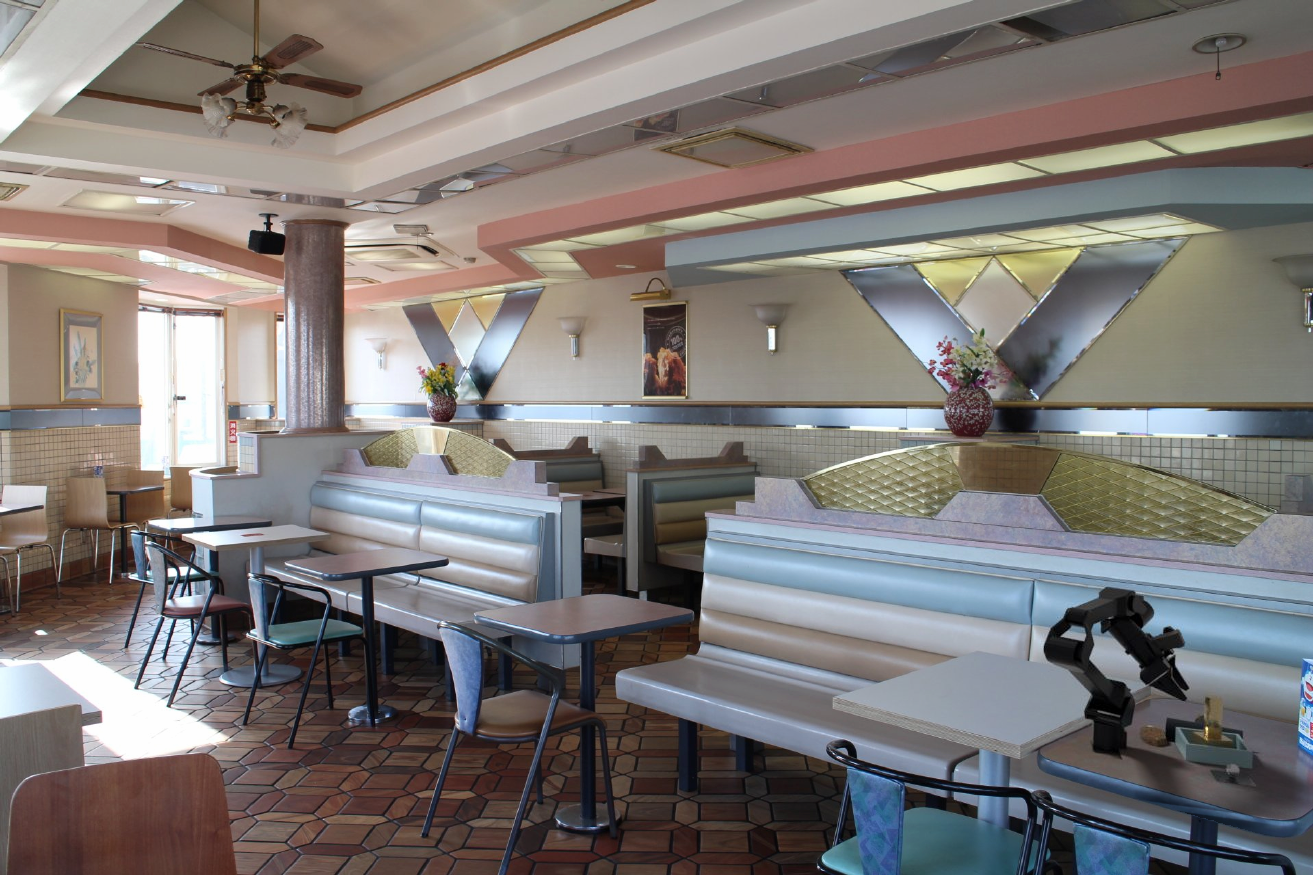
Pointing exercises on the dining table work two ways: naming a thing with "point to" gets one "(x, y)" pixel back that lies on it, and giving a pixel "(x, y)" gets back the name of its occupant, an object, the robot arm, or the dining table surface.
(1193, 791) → the dining table surface
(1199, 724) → the pipe connector
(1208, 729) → the gold trophy
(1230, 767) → the plate
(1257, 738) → the dining table surface
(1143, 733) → the ice cream bar
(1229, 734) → the bin
